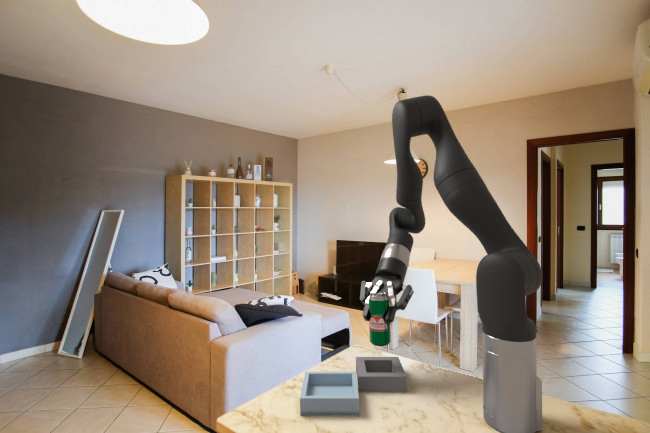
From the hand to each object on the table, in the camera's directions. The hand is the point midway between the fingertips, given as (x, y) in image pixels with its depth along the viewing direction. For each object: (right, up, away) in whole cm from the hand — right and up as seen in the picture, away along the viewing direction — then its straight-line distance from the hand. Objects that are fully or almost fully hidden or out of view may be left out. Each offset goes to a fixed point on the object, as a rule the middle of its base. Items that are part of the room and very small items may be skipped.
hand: (376, 320), depth 84 cm
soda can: (+1, -6, +2) cm, 6 cm away
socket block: (+1, -15, +2) cm, 15 cm away
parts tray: (-11, -15, -7) cm, 20 cm away
